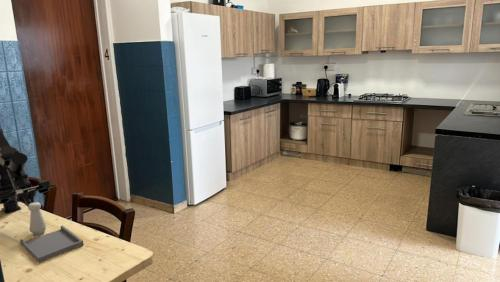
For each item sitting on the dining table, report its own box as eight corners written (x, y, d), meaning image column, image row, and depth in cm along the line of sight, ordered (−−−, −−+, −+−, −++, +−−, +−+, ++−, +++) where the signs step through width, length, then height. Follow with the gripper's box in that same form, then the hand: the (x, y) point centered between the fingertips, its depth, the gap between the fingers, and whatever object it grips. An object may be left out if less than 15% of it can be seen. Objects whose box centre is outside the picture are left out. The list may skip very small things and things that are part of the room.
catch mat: (20, 244, 139) (19, 239, 139) (63, 229, 150) (62, 225, 150) (39, 262, 127) (38, 258, 127) (83, 245, 138) (83, 240, 138)
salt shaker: (31, 231, 149) (26, 201, 146) (47, 228, 151) (42, 199, 148) (29, 238, 144) (24, 207, 140) (46, 235, 146) (41, 204, 143)
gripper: (39, 181, 163) (53, 211, 159) (-10, 193, 150) (3, 226, 145) (44, 168, 156) (58, 198, 152) (-8, 179, 143) (6, 213, 138)
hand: (32, 209), depth 147 cm, fingers closed
